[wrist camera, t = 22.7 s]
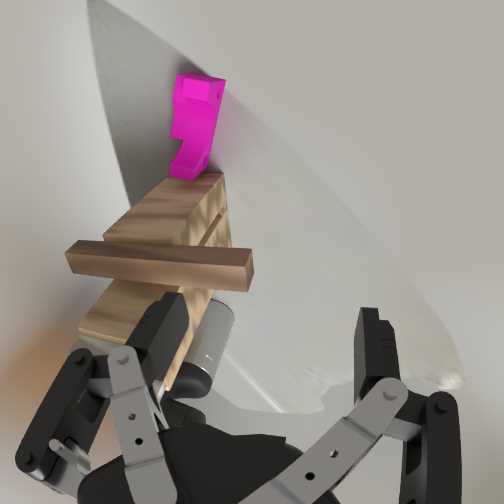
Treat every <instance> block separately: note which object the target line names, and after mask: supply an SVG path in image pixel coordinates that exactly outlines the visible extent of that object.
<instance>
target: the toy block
mask: <svg viewBox="0 0 504 504" xmlns="http://www.w3.org/2000/svg"><path fill="white" fill-rule="evenodd" d="M225 83H226V80H225V79H220V78H215V77H209V76H203V75H198V74H192V73H184V74H177V79H176V84H175V89H174V95H173V103H174V120H173V125H172V130H171V133H170V136H169V137H173V138H177V139H181V140H183V143H182V145H181V148H180V150H179V152H178V154H177V155H176V157H175V158H174V160H173V161H172V162H171V164H170V171H169V176H173V177H177V178H180V179H184V180H187V181H191V182H192V181H193V180H194V179H195V178H196V177H197V176H198V175H199V174H200V173H201V172H202V171H203V170H204V169H205V168H206V167H207V166H208V162H209V156H210V151H211V146H212V141H213V136H214V132H215V127H216V122H217V117H218V113H219V108H220V104H221V99H222V95H223V90H224V88H225Z"/></svg>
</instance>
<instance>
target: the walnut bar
mask: <svg viewBox="0 0 504 504" xmlns="http://www.w3.org/2000/svg"><path fill="white" fill-rule="evenodd" d="M65 256H66V258H67V260H68V263H69V265H70V268H71V270H72V272H73V273H76V274H84V275H91V276H98V277H107V278H114V279H122V280H130V281H138V282H147V283H156V284H165V285H175V286H184V287H194V288H205V289H215V290H226V291H238V292H248V290H249V287H250V284H251V281H252V278H253V275H254V269H253V257H252V249H246V248H227V247H207V246H188V245H168V244H148V243H128V242H108V241H86V240H78V241H77V242H76V243H75V244H73V245H72V247H70V248H69V249H68V250H67V251H66V252H65Z"/></svg>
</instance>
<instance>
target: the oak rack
mask: <svg viewBox="0 0 504 504" xmlns="http://www.w3.org/2000/svg"><path fill="white" fill-rule="evenodd" d="M103 238H104V241H108V242H128V243H148V244H168V245H188V246H207V247H227V248H232V244H231V235H230V226H229V218H228V209H227V200H226V190H225V181H224V173H216V174H199V175H198V176H197V177H196V178H195V179H194V180H193V181H192V182H191V181H187V180H184V179H180V178H177V177H173V176H168V177H167V178H166V179H164V180H163V181H162V182H161V183H160V184H158V185H157V186H156V187H155V188H154V189H152V190H151V191H150V192H149V193H148V194H147V195H146V196H144V197H143V198H142V199H141V200H140V201H139V202H138V203H136V204H135V205H134V206H133V207H132V208H131V209H130V210H129V211H128V212H126V213H125V214H124V215H123V216H122V217H121V218H120V219H119V220H118V221H117V222H116V223H114V224H113V225H112V226H111V227H110V228H109V229H108V230H107V231H106V232H105V233H104V234H103ZM214 290H215V289H205V288H194V287H184V286H175V285H165V284H156V283H147V282H138V281H130V280H122V279H114V280H113V282H112V283H111V284H110V285H109V286H108V288H107V289H106V290H105V291H104V293H103V294H102V295H101V296H100V298H99V299H98V300H97V302H96V303H95V304H94V305H93V307H92V308H91V309H90V311H89V312H88V314H87V315H86V316H85V317H84V319H83V320H82V321H81V323H80V324H79V325H78V327H77V328H78V330H79V332H80V333H81V335H80V336H79V338H78V339H77V341H76V342H75V344H74V345H73V346H72V348H71V349H70V351H69V353H68V355H70V354H71V353H72V352H73V351H74V350H76V349H79V348H86V349H89V350H90V351H91V353H92V354H93V356H95V355H109V354H110V353H111V351H113V350H114V349H115V348H117V347H120V346H124V345H125V343H126V341H127V340H128V338H129V336H130V335H131V333H132V332H133V330H134V328H135V327H136V325H137V323H139V320H140V319H141V317H143V314H144V312H145V311H146V309H147V307H148V306H150V305H151V304H152V303H153V302H155V301H160V300H161V298H162V297H163V295H164V293H165V292H166V291H171V292H179V293H183V295H184V298H185V302H186V306H187V310H188V313H189V319H190V320H189V327H188V329H187V332H186V334H185V336H184V338H183V340H182V342H181V344H180V346H179V348H178V351H177V353H176V355H175V357H174V359H173V361H172V363H171V366H170V368H169V370H168V372H167V374H166V376H165V378H164V381H163V382H162V381H157V380H154V382H153V385H154V388H155V391H156V394H157V397H158V400H159V402H160V400H161V398H162V396H163V393H164V391H165V390H167V391H170V389H171V386H172V384H173V382H174V380H175V377H176V375H177V373H178V371H179V368H180V366H181V364H182V361H183V359H184V357H185V355H186V352H187V350H188V348H189V346H190V344H191V341H192V339H193V337H194V335H195V332H196V330H197V328H198V326H199V323H200V321H201V319H202V317H203V315H204V312H205V310H206V308H207V306H208V304H209V301H210V299H211V297H212V295H213V293H214Z"/></svg>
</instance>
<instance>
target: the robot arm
mask: <svg viewBox="0 0 504 504" xmlns="http://www.w3.org/2000/svg"><path fill="white" fill-rule="evenodd" d="M189 320H190V319H189V313H188V310H187V306H186V302H185V298H184V295H183V293H179V292H171V291H166V292H165V293H164V295H163V297H162V298H161V300H160V301H155V302H153V303H152V304H151V305H150V306H148V307H147V309H146V311H145V312H144V314H143V317H141V319H140V320H139V323H137V325H136V327H135V328H134V330H133V332H132V333H131V335H130V336H129V338H128V340H127V341H126V343H125V345H124V346H120V347H117V348H115V349H114V350H113V351H111V353H110V354H109V355H95V356H93V354H92V353H91V351H90V350H89V349H86V348H79V349H76V350H74V351H73V352H72V353H71V354H70V355H69V356H68V358H67V360H66V361H65V363H64V365H63V366H62V368H61V370H60V371H59V373H58V375H57V376H56V378H55V380H54V382H53V383H52V385H51V387H50V389H49V390H48V392H47V394H46V396H45V397H44V399H43V401H42V403H41V405H40V407H39V408H38V410H37V412H36V414H35V416H34V418H33V420H32V422H31V424H30V425H29V427H28V429H27V431H26V433H25V435H24V437H23V439H22V441H21V444H20V445H19V448H18V450H17V452H16V455H15V462H16V465H17V467H18V468H19V469H20V470H21V471H22V472H24V473H25V474H27V475H28V476H30V477H32V478H33V479H35V480H37V481H39V482H40V483H42V484H43V485H45V486H47V487H49V488H50V489H52V490H54V491H56V492H58V493H60V494H68V495H71V496H72V497H74V498H76V499H77V502H78V504H340V502H339V501H338V500H337V498H336V497H335V495H334V494H333V493H332V491H333V490H334V489H335V488H336V487H337V486H338V485H339V484H340V483H341V482H342V481H343V480H344V479H345V478H346V477H347V476H348V475H349V474H350V473H351V472H352V471H353V469H354V468H355V467H356V466H357V465H358V464H359V462H360V461H361V460H362V459H363V458H364V457H365V456H366V455H367V453H368V452H369V451H370V450H371V449H372V448H373V447H374V445H375V444H376V443H377V442H378V441H379V440H380V438H381V437H382V436H383V435H385V436H389V437H392V438H396V439H399V440H403V457H402V473H401V485H400V495H399V504H461V496H462V494H461V493H462V462H461V440H460V426H459V416H458V406H457V402H456V400H455V399H454V397H453V396H452V395H451V394H449V393H447V392H443V391H439V392H435V393H433V394H432V395H430V396H429V397H427V396H424V395H420V394H417V393H414V392H412V391H410V390H408V389H407V387H406V385H405V384H404V383H403V382H402V381H401V378H400V371H399V363H398V355H397V349H396V341H395V333H394V329H393V327H392V326H391V324H390V323H389V321H388V320H379V313H378V308H368V307H361V308H360V312H359V317H358V321H357V326H356V330H355V336H354V407H355V408H354V409H353V410H352V412H351V413H350V414H349V415H348V416H346V417H343V418H341V419H340V420H339V421H338V422H337V423H336V424H335V425H334V426H333V427H332V428H331V429H330V430H329V431H327V433H326V434H324V435H323V436H322V437H321V438H320V439H319V440H318V441H317V442H316V443H315V444H314V445H313V446H312V447H311V448H309V449H308V450H307V451H306V452H305V453H303V452H302V451H301V450H299V449H298V448H296V447H294V446H292V445H289V444H287V443H286V437H281V436H272V435H265V434H254V435H253V434H252V435H238V436H237V435H236V436H234V435H230V434H228V433H225V432H223V431H221V430H218V429H216V428H214V427H212V426H210V425H207V424H206V418H205V415H204V414H203V413H202V412H201V411H199V410H197V409H195V408H193V407H190V406H188V405H185V404H183V403H180V402H178V401H175V400H174V399H178V398H202V397H204V396H206V395H207V394H208V392H209V391H210V388H211V386H212V382H213V380H214V377H215V374H216V371H217V368H218V365H219V362H220V359H221V357H222V354H223V351H224V348H225V345H226V342H227V340H228V337H229V334H230V331H231V328H232V326H233V323H234V315H233V313H232V311H231V310H230V309H229V308H228V307H227V306H226V305H224V304H222V303H220V302H218V301H214V300H210V301H209V304H208V306H207V308H206V310H205V312H204V315H203V317H202V319H201V321H200V323H199V326H198V328H197V330H196V332H195V335H194V337H193V339H192V341H191V344H190V346H189V348H188V350H187V352H186V355H185V357H184V359H183V361H182V364H181V366H180V368H179V371H178V373H177V375H176V377H175V380H174V382H173V384H172V386H171V389H170V391H167V390H165V391H164V393H163V396H162V398H161V400H160V402H159V400H158V397H157V394H156V391H155V388H154V385H153V382H154V380H157V381H162V382H163V381H164V378H165V376H166V374H167V372H168V370H169V368H170V366H171V363H172V361H173V359H174V357H175V355H176V353H177V351H178V348H179V346H180V344H181V342H182V340H183V338H184V336H185V334H186V332H187V329H188V327H189ZM84 390H85V391H84ZM83 392H84V393H83ZM82 394H83V395H82ZM81 395H82V397H81ZM80 397H81V399H80ZM79 399H80V401H79ZM78 401H79V403H78ZM110 402H111V407H112V411H113V416H114V421H115V425H116V430H117V434H118V438H119V442H120V446H121V450H122V455H120V456H118V457H117V458H115V459H113V460H112V461H110V462H108V463H106V464H104V465H102V466H101V467H99V468H97V469H96V470H93V471H91V466H90V457H89V455H88V452H89V450H90V448H91V445H92V443H93V441H94V438H95V436H96V434H97V431H98V429H99V427H100V424H101V422H102V420H103V418H104V416H105V413H106V411H107V409H108V406H109V404H110ZM90 471H91V472H90Z"/></svg>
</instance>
